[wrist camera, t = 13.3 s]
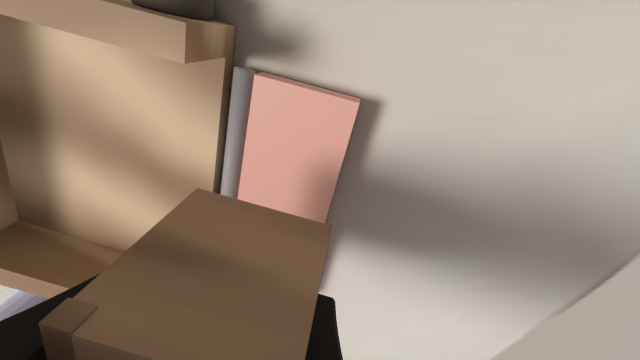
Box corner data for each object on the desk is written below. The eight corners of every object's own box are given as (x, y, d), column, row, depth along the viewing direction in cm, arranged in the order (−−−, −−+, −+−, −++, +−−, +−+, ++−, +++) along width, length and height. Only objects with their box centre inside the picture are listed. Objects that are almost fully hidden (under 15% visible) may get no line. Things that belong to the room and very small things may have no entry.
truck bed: (208, 292, 20) (161, 367, 15) (20, 237, 20) (-80, 295, 16) (239, -3, 13) (168, -23, 8) (-53, -79, 13) (-274, -138, 9)
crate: (304, 322, 12) (259, 515, 7) (189, 289, 12) (70, 456, 8) (333, 225, 10) (299, 401, 5) (195, 186, 10) (38, 322, 6)
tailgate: (216, 264, 19) (305, 291, 18) (208, 275, 18) (301, 304, 18) (239, 65, 14) (360, 98, 13) (229, 67, 13) (359, 103, 13)
